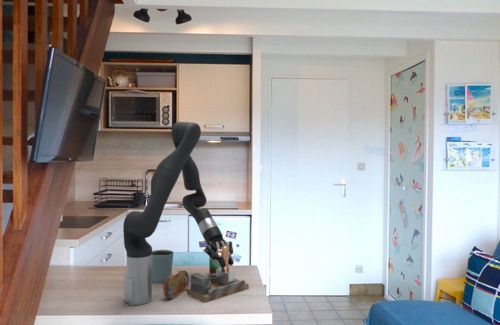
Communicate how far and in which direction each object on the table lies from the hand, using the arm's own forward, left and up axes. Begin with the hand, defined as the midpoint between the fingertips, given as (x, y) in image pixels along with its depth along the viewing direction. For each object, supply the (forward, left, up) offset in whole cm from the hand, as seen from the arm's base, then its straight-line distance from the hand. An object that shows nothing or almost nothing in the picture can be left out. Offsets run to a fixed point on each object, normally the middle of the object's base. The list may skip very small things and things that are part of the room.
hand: (228, 265), depth 154 cm
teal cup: (-14, +29, -10) cm, 34 cm away
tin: (-18, +10, -10) cm, 23 cm away
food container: (+9, +19, -10) cm, 24 cm away
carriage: (0, +2, -8) cm, 8 cm away
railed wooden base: (-4, +2, -10) cm, 11 cm away
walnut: (-9, +2, -8) cm, 12 cm away
